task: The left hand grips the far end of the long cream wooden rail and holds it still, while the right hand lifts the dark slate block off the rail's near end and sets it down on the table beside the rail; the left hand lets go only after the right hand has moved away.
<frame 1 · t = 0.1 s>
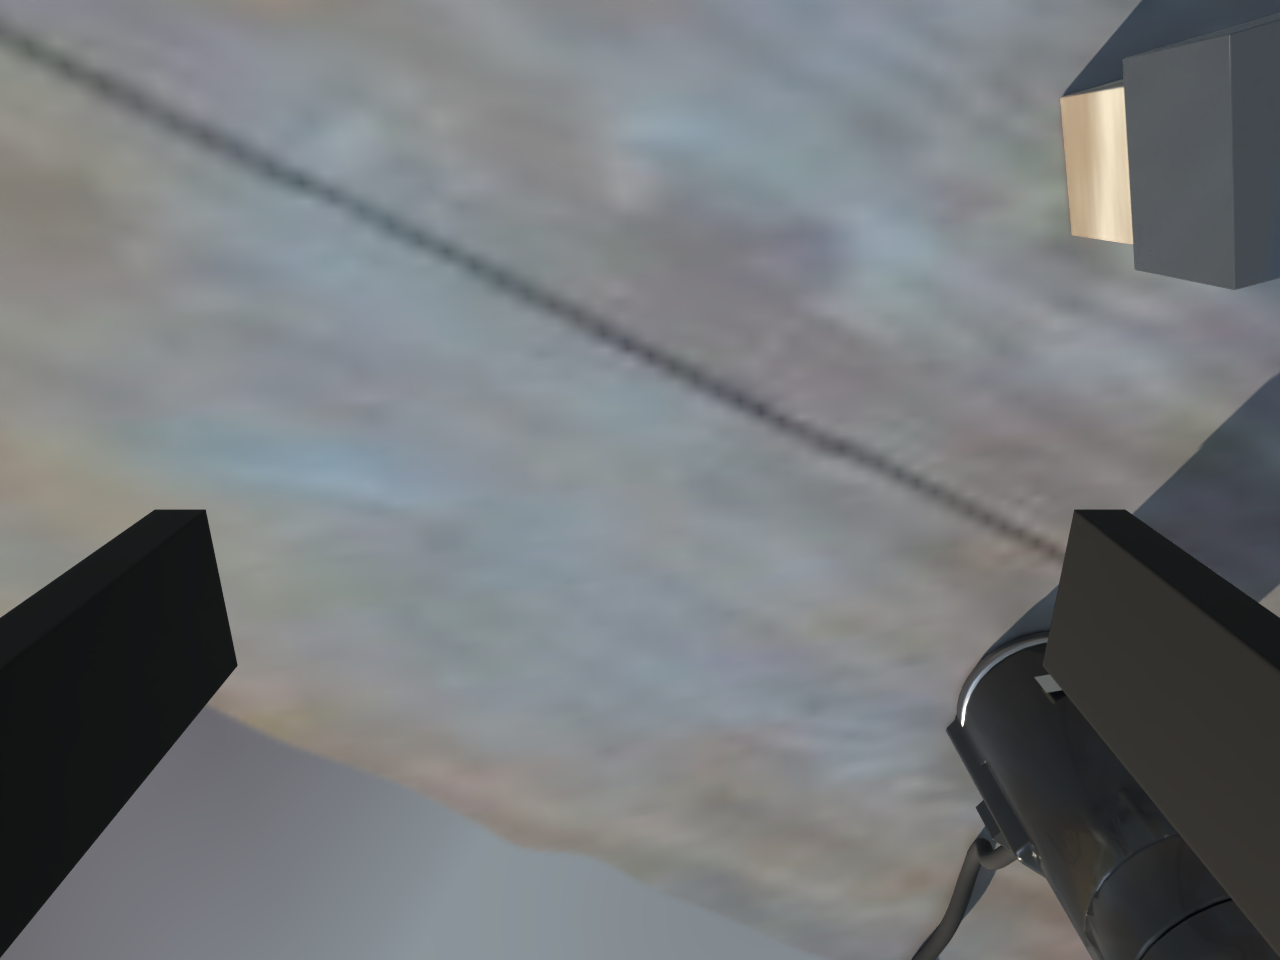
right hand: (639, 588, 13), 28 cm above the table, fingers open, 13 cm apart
slate block: (1233, 139, 32), point 5 cm above the table, touching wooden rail
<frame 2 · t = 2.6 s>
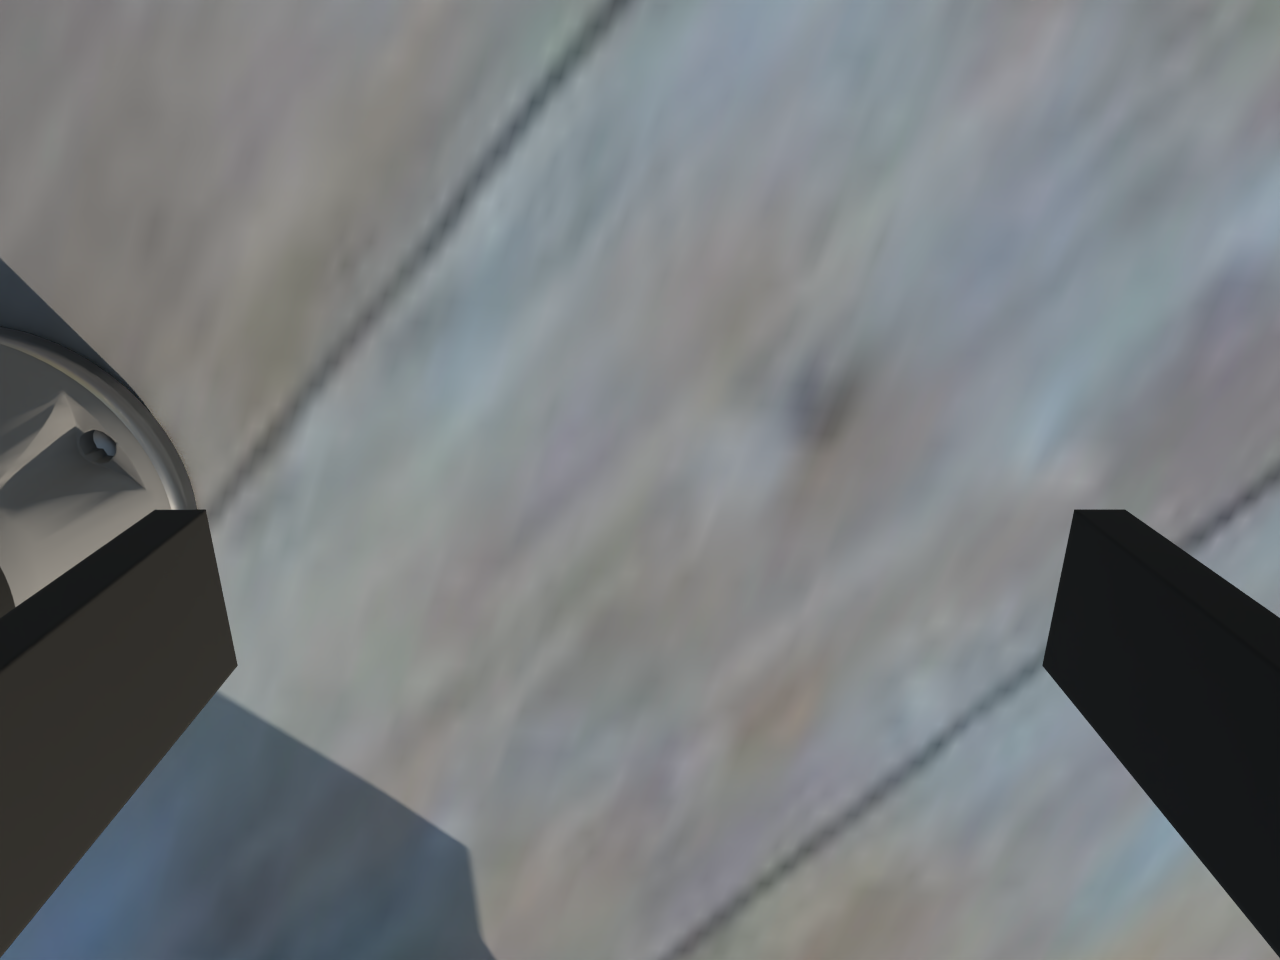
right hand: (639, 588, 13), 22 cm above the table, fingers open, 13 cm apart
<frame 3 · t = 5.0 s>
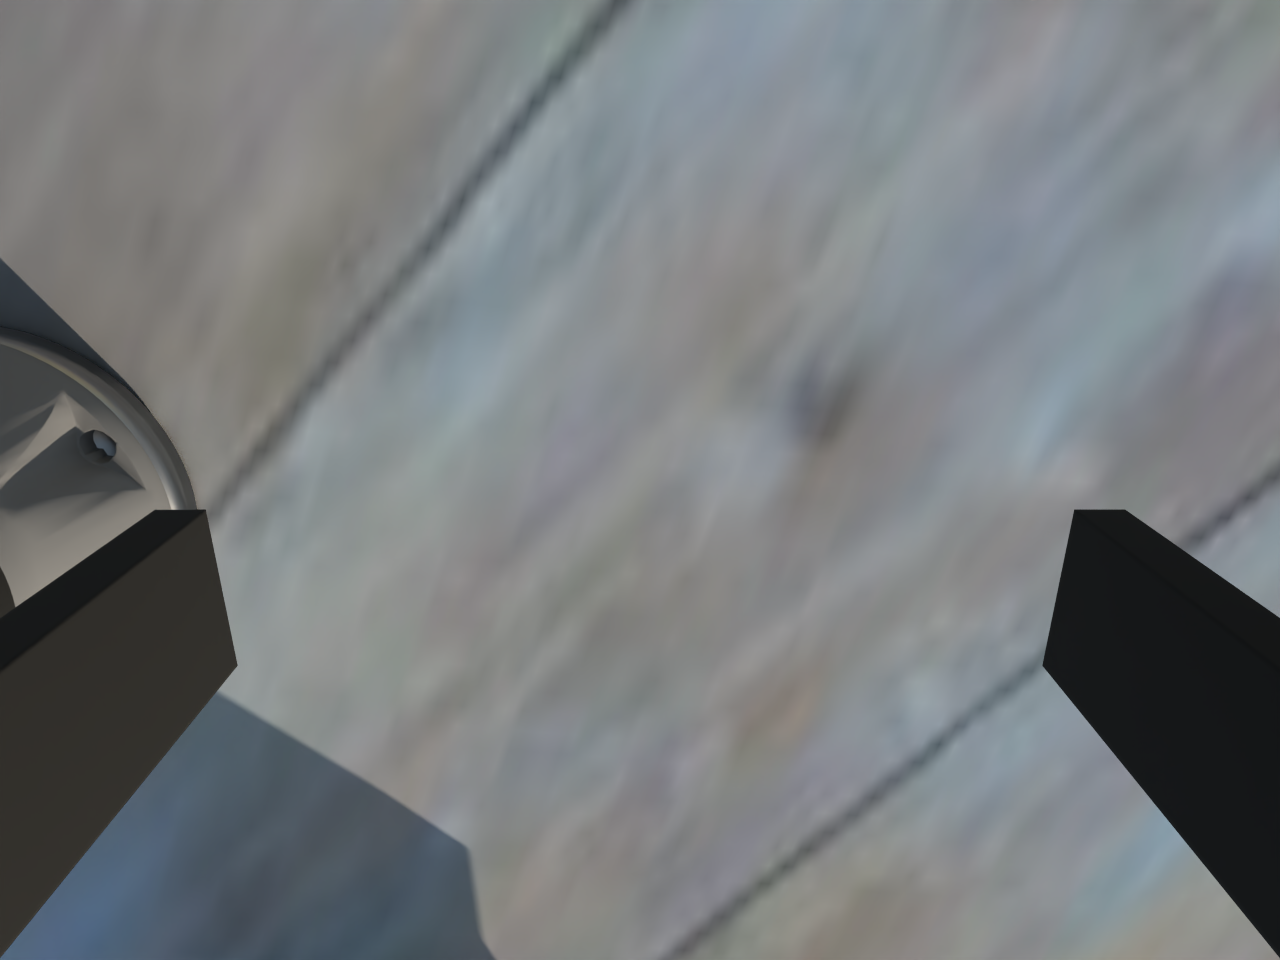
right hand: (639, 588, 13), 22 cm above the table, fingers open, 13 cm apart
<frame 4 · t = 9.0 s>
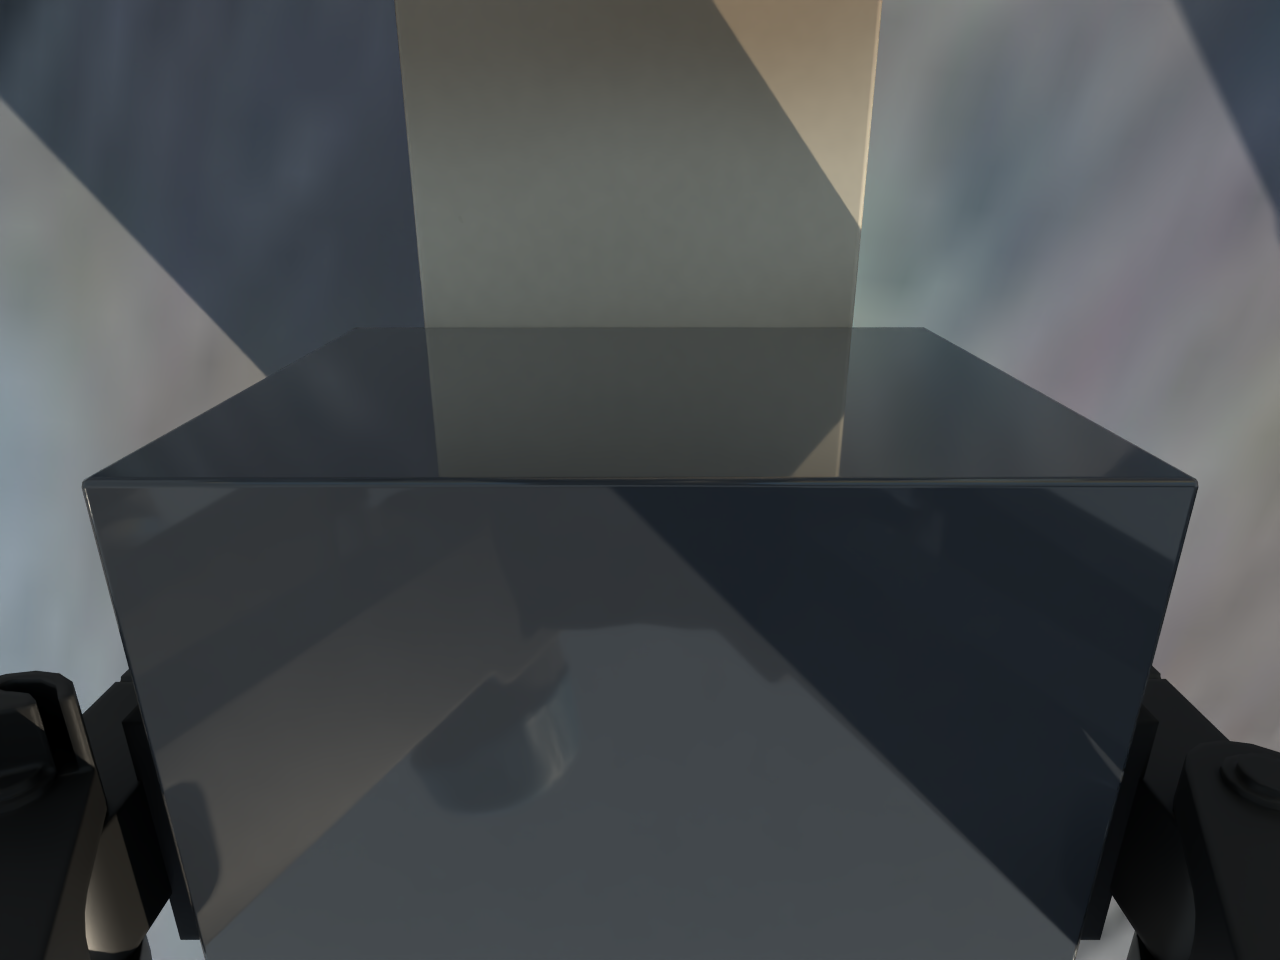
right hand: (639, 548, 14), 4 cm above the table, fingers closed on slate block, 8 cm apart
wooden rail: (638, 53, 15), on the table, touching left hand, slate block
slate block: (639, 582, 13), point 5 cm above the table, touching right hand, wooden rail
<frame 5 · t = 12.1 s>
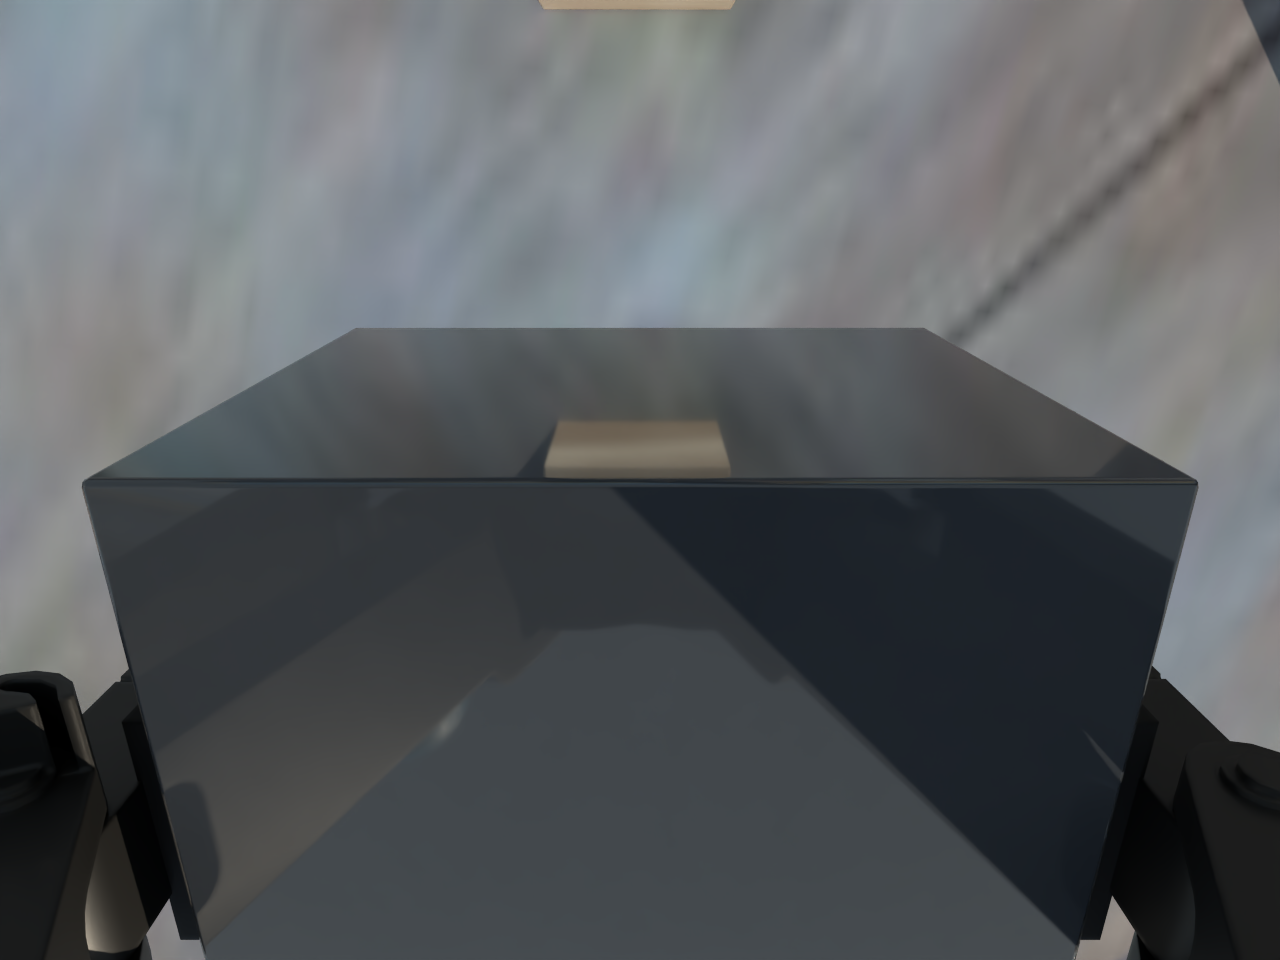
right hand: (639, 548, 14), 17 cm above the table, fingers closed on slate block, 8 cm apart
slate block: (640, 582, 13), point 18 cm above the table, touching right hand
when the right hand's fingers open (0 cm above the table, at t = 15.5 s): slate block drops 2 cm, on the table.
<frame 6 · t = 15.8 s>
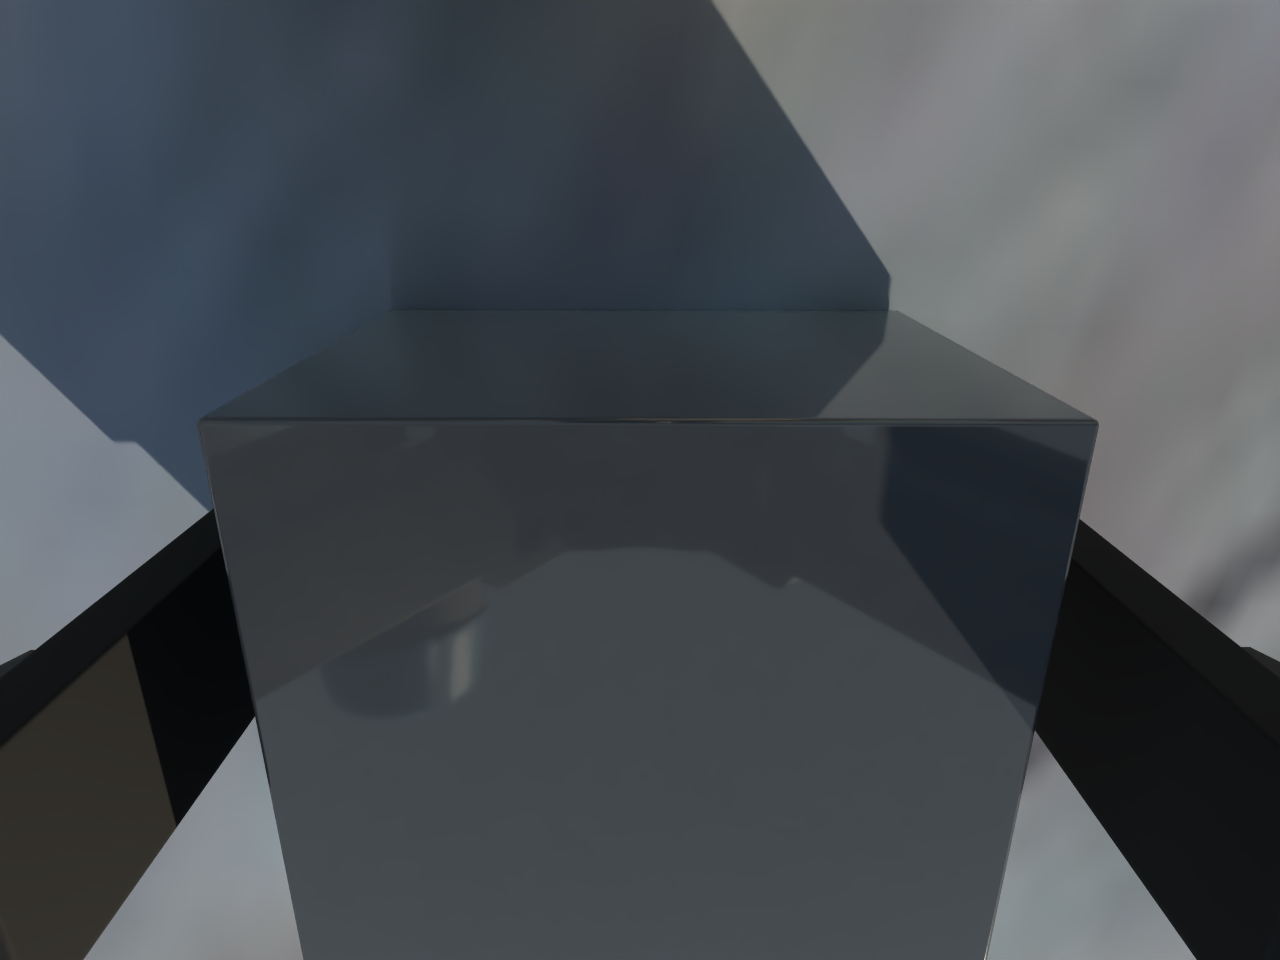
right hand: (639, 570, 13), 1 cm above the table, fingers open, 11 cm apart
slate block: (643, 541, 14), on the table
when the left hand's fingers open (1 cm above the table, at t = 19.6 s): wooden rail stays where it is, on the table.
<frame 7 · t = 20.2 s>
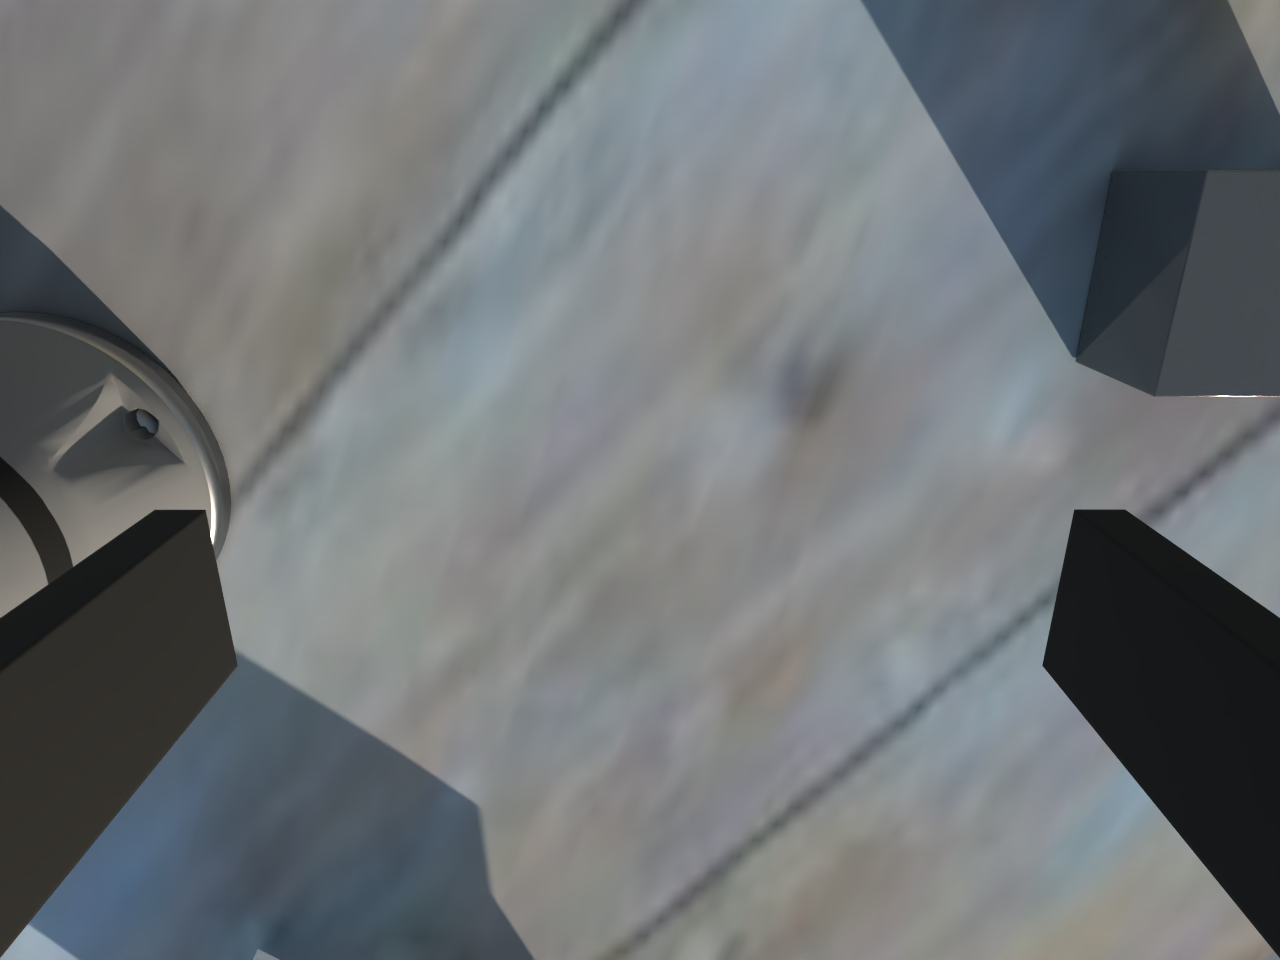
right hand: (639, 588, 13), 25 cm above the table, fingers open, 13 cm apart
slate block: (1186, 270, 35), on the table
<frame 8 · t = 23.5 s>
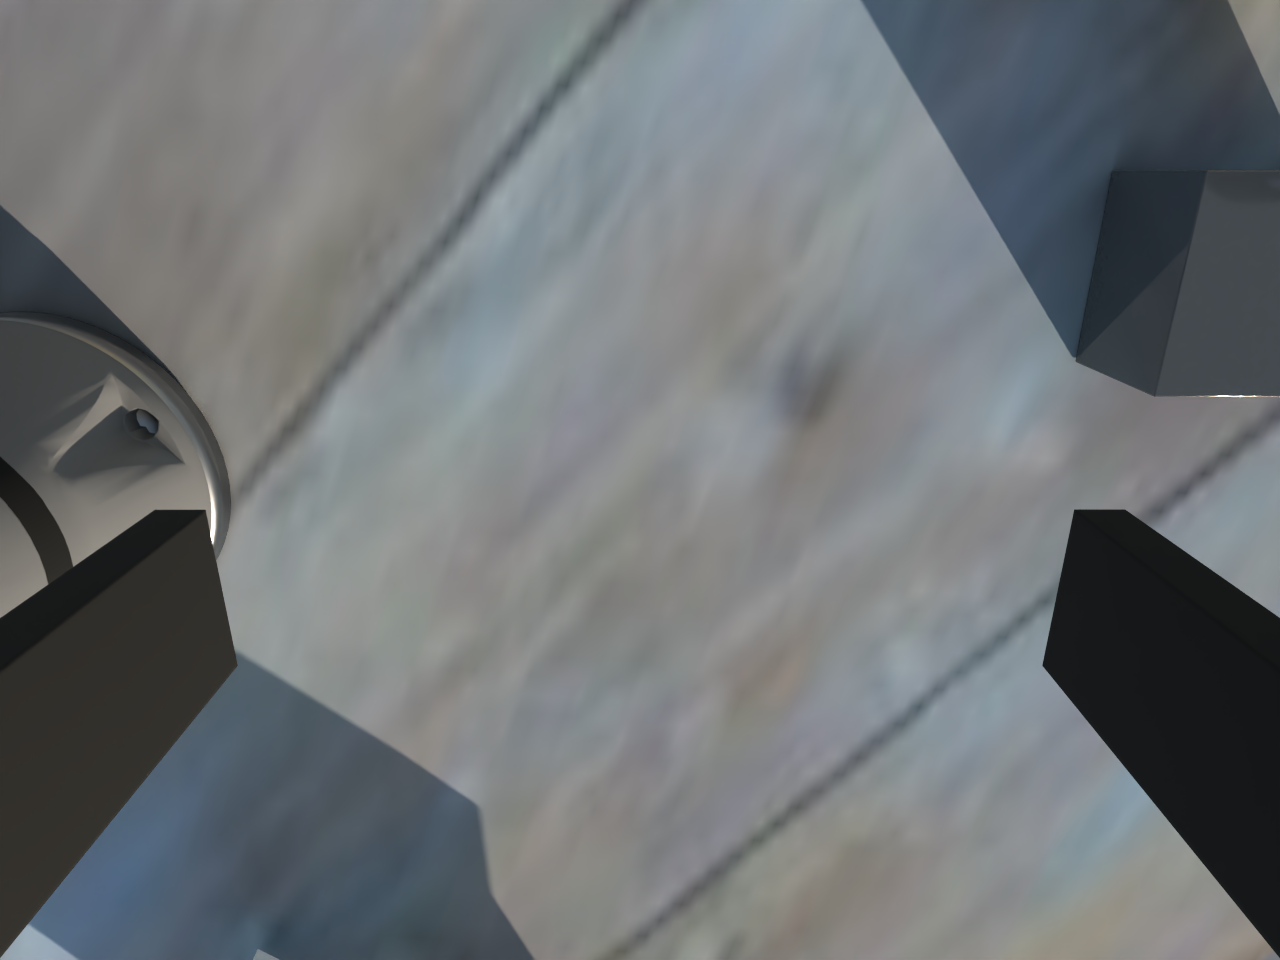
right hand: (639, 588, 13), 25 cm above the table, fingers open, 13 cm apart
slate block: (1186, 270, 35), on the table
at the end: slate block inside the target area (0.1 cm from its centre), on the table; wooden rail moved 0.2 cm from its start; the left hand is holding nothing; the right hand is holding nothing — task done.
